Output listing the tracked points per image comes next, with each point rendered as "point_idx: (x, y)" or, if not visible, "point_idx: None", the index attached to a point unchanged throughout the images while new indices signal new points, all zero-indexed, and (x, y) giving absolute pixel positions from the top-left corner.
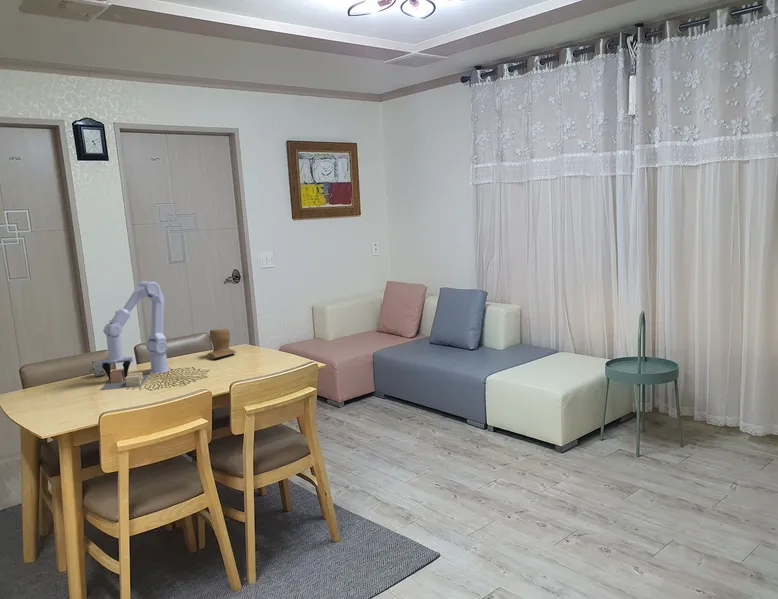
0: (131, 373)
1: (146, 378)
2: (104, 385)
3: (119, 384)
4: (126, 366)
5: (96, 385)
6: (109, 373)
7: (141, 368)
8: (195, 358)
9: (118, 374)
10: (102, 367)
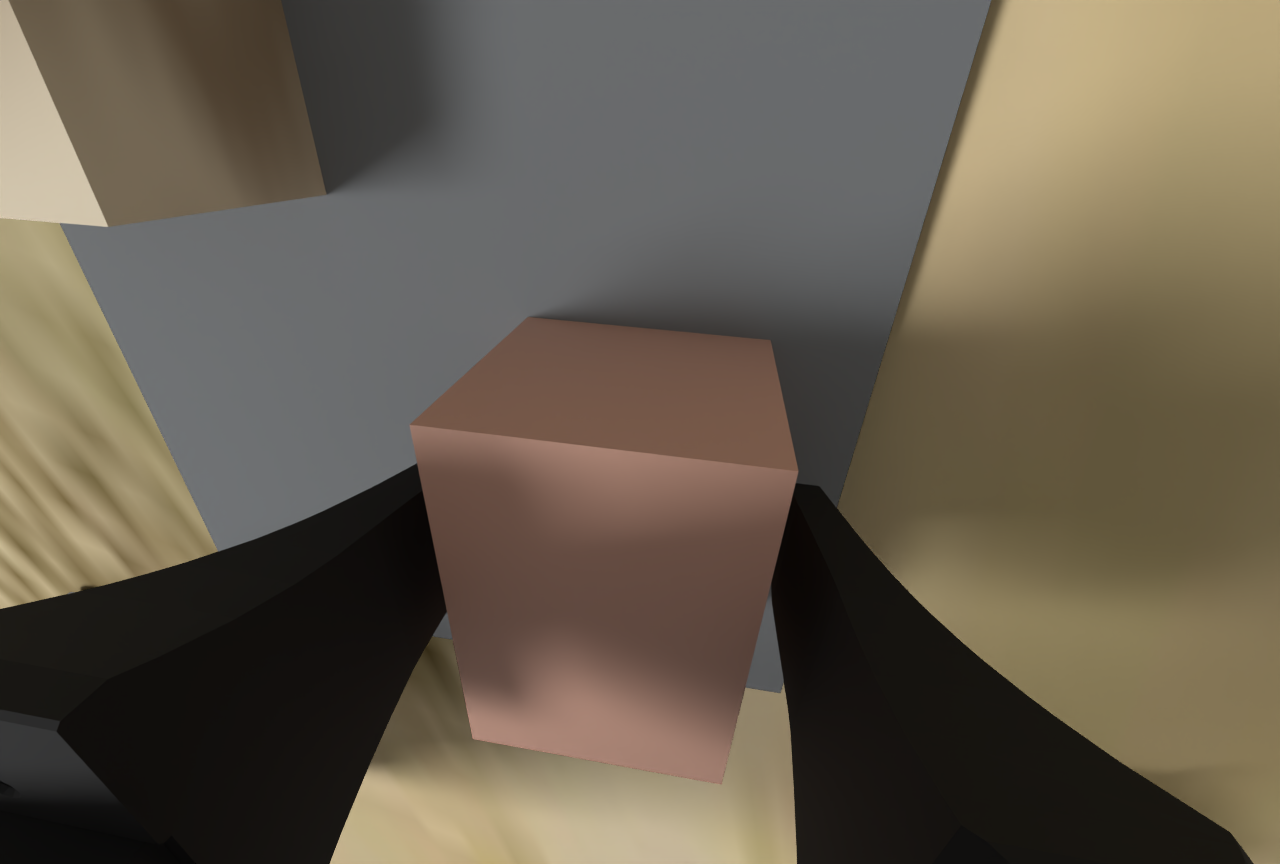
0: (22, 203)
1: (129, 366)
2: (935, 129)
3: (521, 45)
4: (120, 601)
5: (1109, 346)
6: (814, 601)
7: (495, 849)
8: None
9: (526, 404)
10: (1234, 840)
